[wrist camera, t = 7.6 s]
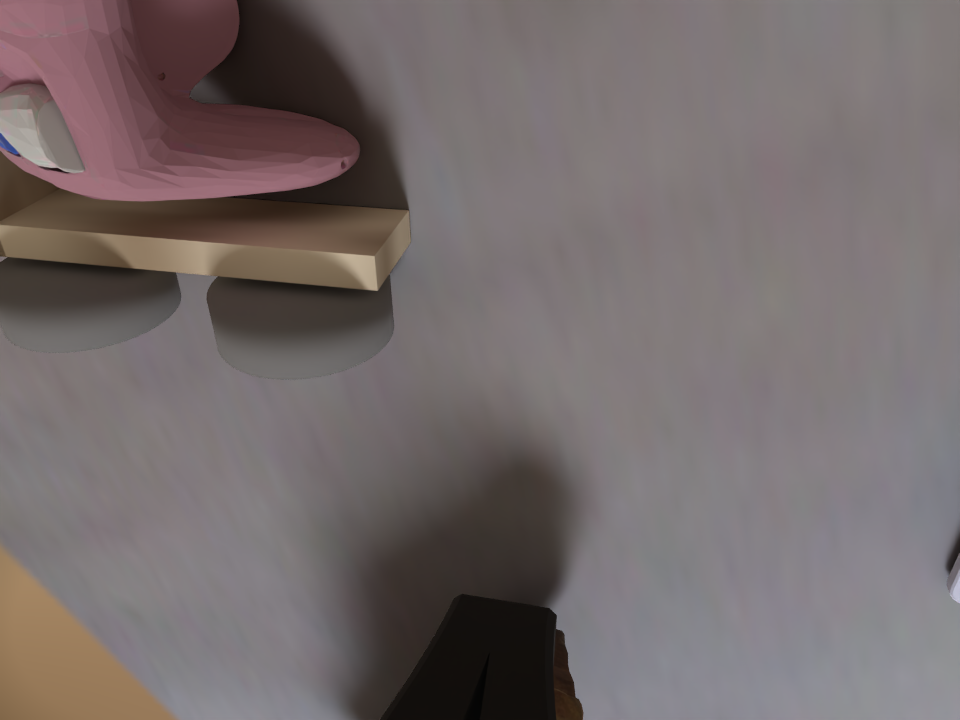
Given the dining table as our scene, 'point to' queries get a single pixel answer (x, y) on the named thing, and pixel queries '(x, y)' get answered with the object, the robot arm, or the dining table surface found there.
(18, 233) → the chassis
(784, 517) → the dining table surface
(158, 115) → the pink toy figure
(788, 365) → the dining table surface
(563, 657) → the wooden carving
